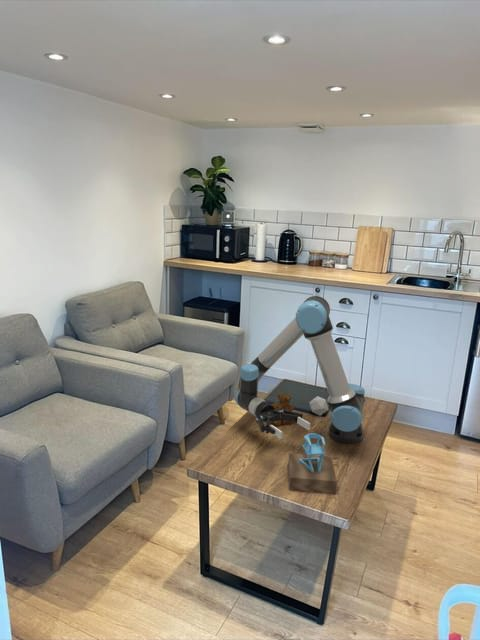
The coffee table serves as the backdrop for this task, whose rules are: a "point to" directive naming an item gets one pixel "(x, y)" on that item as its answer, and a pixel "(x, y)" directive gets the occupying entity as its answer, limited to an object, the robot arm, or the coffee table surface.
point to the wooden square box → (311, 475)
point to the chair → (313, 451)
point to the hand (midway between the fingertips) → (295, 431)
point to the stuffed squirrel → (284, 404)
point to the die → (318, 405)
